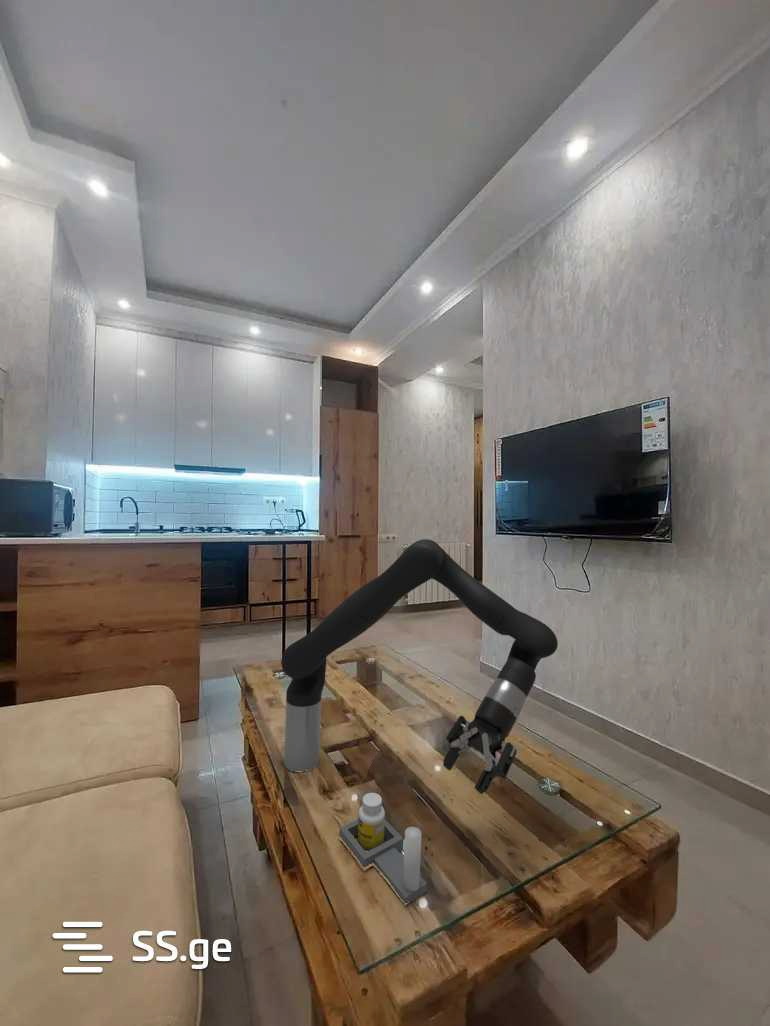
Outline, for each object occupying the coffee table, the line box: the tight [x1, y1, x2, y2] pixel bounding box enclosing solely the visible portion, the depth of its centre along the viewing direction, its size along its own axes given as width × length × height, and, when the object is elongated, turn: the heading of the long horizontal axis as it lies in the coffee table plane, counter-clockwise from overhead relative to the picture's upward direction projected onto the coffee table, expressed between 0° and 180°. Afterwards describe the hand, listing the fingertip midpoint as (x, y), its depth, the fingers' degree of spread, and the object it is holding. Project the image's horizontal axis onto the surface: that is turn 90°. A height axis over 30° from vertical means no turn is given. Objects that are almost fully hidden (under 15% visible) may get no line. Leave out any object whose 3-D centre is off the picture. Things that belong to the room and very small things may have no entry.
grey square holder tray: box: [338, 818, 428, 903], centre depth 84 cm, size 19×9×11 cm, turn 36°
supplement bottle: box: [357, 792, 386, 851], centre depth 88 cm, size 5×5×10 cm
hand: (461, 779), depth 84 cm, fingers open, 8 cm apart
